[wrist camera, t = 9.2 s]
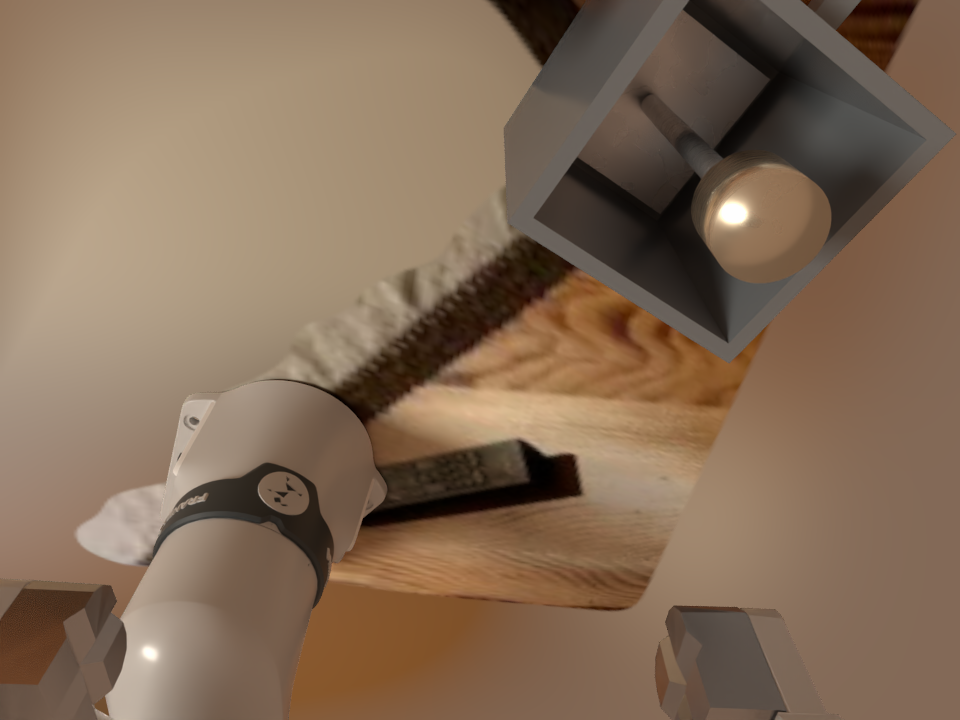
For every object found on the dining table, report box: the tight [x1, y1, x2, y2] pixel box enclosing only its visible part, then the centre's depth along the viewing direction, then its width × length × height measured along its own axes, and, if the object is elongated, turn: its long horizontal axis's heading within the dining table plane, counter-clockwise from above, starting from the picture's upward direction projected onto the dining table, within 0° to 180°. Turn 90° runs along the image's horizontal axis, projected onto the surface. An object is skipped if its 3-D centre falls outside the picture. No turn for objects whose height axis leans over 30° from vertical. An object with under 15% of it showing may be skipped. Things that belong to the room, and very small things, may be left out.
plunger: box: [577, 10, 831, 283], centre depth 33 cm, size 10×10×22 cm
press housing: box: [504, 0, 956, 363], centre depth 36 cm, size 16×13×18 cm
